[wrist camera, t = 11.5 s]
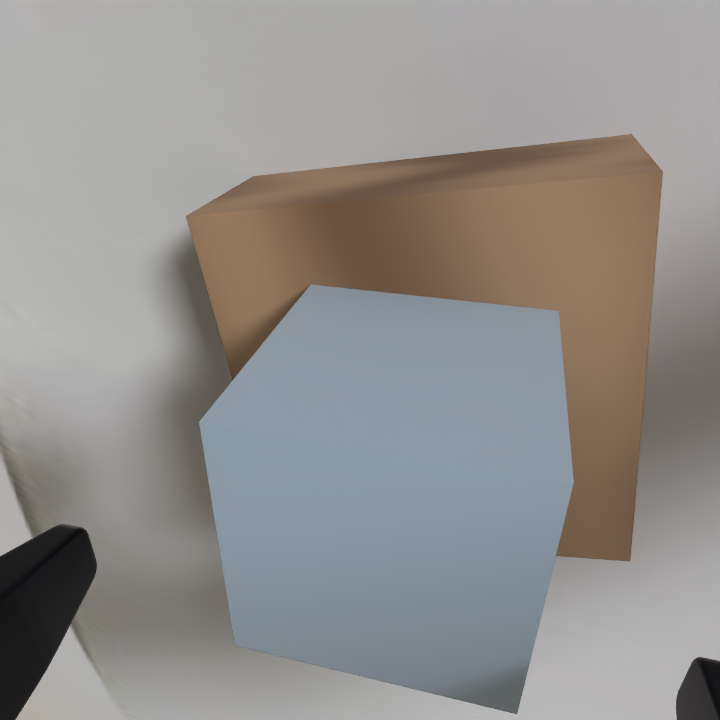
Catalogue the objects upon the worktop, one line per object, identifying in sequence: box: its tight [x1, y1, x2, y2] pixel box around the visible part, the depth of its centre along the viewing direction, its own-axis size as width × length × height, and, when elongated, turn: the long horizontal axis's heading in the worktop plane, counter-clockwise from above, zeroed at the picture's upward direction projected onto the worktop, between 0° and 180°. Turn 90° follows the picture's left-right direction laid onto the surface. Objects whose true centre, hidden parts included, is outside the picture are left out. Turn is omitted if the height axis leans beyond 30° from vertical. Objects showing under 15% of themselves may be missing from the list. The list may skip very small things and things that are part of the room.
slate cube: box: [199, 285, 574, 714], centre depth 11 cm, size 5×5×5 cm
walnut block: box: [186, 134, 663, 561], centre depth 15 cm, size 9×9×4 cm
